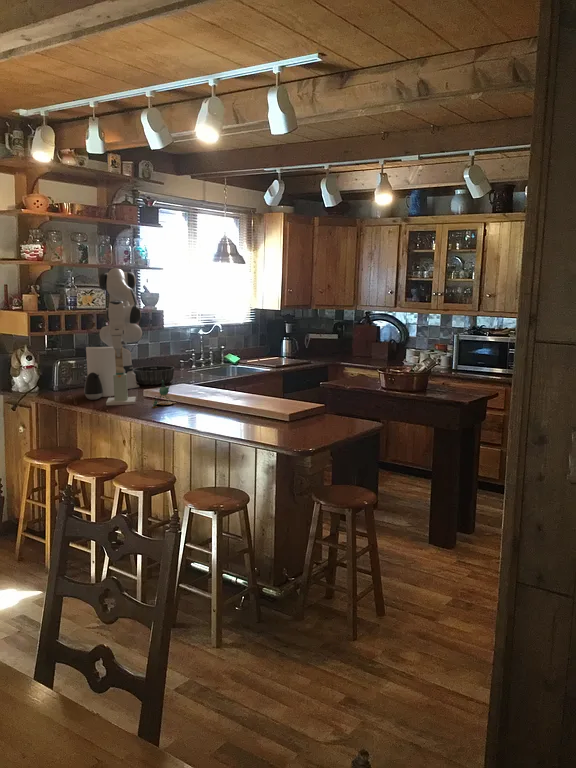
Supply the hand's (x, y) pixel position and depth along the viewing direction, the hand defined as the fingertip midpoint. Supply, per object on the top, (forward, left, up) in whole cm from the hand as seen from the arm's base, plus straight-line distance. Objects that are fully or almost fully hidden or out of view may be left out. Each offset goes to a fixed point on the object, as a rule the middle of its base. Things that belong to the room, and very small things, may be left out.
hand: (119, 356), depth 372 cm
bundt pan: (-62, +16, -26) cm, 69 cm away
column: (0, 0, -18) cm, 18 cm away
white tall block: (-29, -12, -26) cm, 41 cm away
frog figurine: (+14, +23, -26) cm, 37 cm away
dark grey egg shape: (-14, -16, -26) cm, 33 cm away
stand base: (0, 0, -26) cm, 26 cm away
